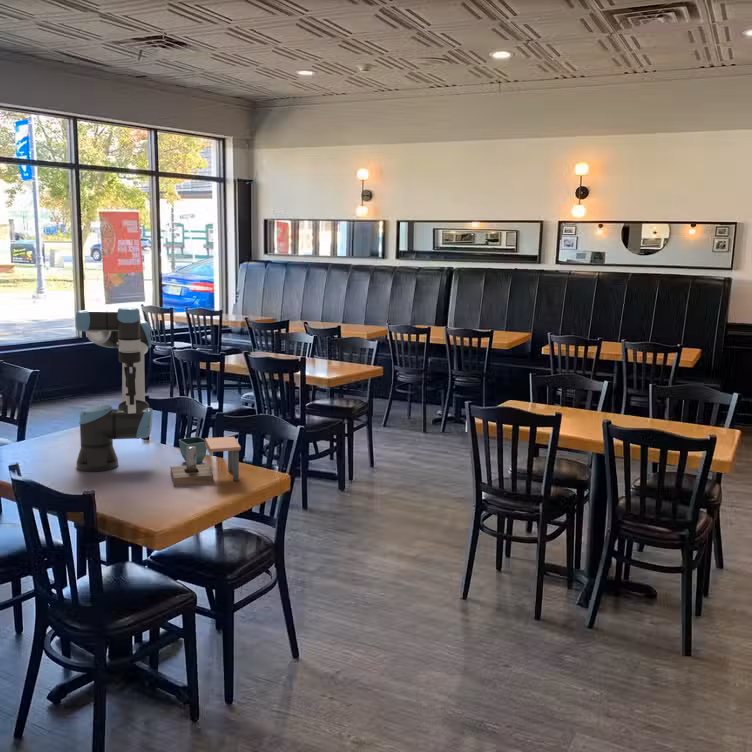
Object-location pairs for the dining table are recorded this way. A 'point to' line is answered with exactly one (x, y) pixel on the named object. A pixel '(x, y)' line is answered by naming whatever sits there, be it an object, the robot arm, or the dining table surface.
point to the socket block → (191, 475)
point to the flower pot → (196, 442)
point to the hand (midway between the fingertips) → (130, 409)
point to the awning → (226, 445)
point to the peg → (191, 459)
